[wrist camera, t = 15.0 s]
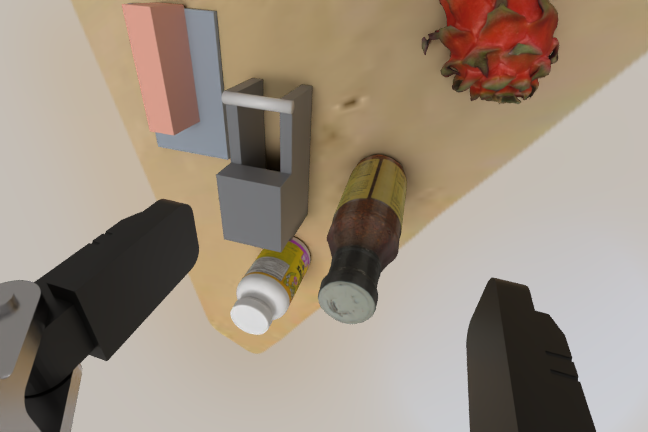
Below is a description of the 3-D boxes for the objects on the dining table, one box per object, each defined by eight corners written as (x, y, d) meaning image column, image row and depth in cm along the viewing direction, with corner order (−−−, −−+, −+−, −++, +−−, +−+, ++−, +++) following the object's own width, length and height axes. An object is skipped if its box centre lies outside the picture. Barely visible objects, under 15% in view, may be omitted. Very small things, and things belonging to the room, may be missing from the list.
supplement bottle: (304, 277, 52) (269, 349, 42) (263, 258, 52) (218, 325, 42) (318, 244, 48) (282, 315, 38) (273, 225, 48) (226, 289, 38)
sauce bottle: (350, 195, 43) (291, 321, 26) (356, 146, 39) (294, 257, 23) (404, 207, 41) (378, 346, 25) (416, 157, 38) (394, 282, 22)
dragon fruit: (515, 96, 34) (444, -15, 32) (615, 44, 26) (528, -105, 24) (462, 142, 31) (382, 23, 29) (558, 100, 23) (455, -67, 21)
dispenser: (252, 77, 38) (206, 98, 31) (312, 85, 37) (279, 109, 30) (258, 204, 47) (224, 243, 40) (307, 214, 46) (281, 256, 39)
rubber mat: (132, 3, 38) (128, 3, 37) (216, 11, 36) (213, 11, 35) (161, 144, 47) (158, 146, 46) (230, 157, 45) (227, 159, 44)
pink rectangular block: (157, 2, 36) (121, 4, 32) (183, 4, 36) (149, 6, 32) (177, 117, 43) (150, 131, 39) (199, 121, 42) (173, 135, 38)
